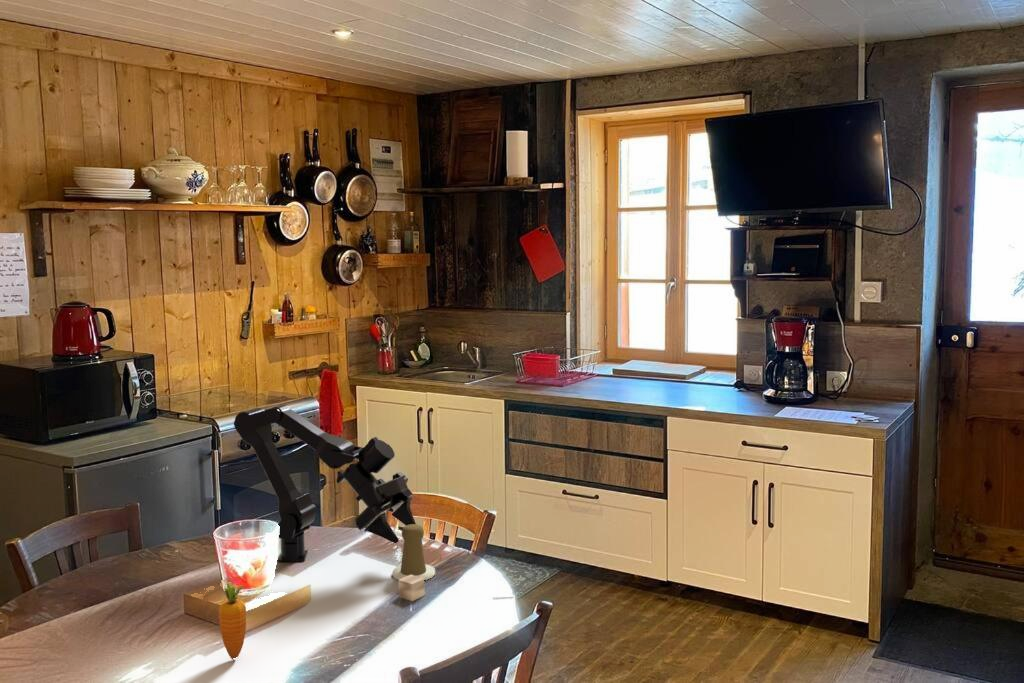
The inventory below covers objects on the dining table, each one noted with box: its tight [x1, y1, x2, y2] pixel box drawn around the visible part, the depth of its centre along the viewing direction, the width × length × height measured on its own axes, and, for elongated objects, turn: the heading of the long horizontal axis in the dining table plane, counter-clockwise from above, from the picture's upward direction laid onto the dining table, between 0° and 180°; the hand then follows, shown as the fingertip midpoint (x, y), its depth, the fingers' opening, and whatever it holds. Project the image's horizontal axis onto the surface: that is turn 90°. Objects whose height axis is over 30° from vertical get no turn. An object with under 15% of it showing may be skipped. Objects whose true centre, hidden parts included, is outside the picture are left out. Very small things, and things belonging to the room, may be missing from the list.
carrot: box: [218, 581, 247, 659], centre depth 168 cm, size 5×5×15 cm
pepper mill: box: [400, 524, 426, 576], centre depth 210 cm, size 6×6×11 cm
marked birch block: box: [398, 575, 426, 602], centre depth 198 cm, size 4×4×4 cm
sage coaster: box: [392, 563, 436, 582], centre depth 211 cm, size 10×10×1 cm
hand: (406, 536), depth 211 cm, fingers open, 9 cm apart
